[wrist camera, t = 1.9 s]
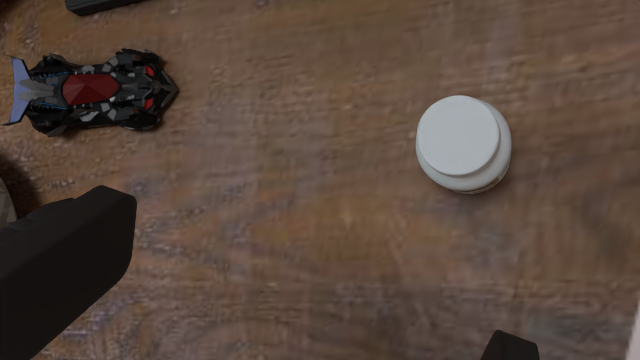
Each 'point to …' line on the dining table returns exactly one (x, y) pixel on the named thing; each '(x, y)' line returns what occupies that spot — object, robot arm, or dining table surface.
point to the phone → (93, 5)
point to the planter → (6, 207)
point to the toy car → (90, 93)
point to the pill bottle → (464, 144)
